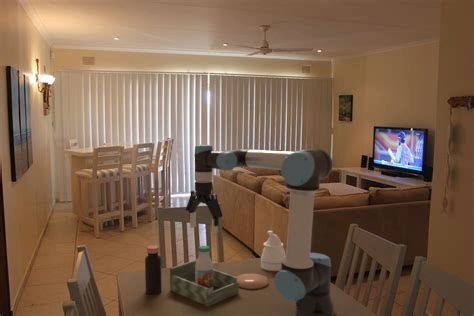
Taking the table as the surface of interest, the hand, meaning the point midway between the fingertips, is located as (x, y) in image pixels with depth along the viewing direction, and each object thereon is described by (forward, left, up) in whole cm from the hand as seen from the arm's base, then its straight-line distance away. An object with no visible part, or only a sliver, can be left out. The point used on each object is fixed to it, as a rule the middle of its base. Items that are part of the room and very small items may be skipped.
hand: (203, 230), depth 195 cm
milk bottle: (0, 0, -28) cm, 28 cm away
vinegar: (+16, +15, -28) cm, 35 cm away
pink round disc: (-8, -22, -27) cm, 36 cm away
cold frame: (0, 0, -27) cm, 27 cm away
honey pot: (-2, -46, -28) cm, 54 cm away
